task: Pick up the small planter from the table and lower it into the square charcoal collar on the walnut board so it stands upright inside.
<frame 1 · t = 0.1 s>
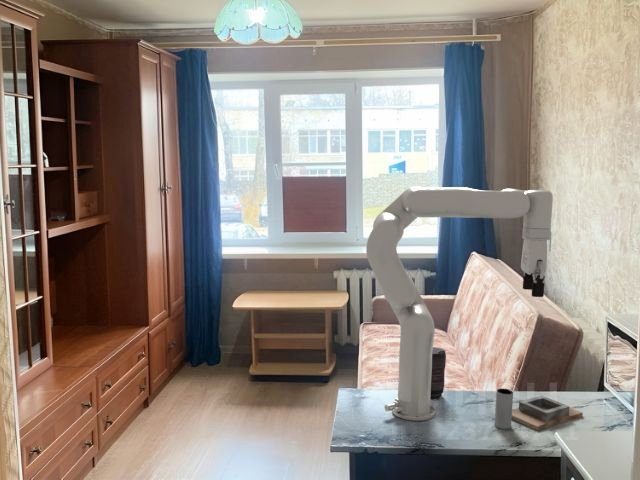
hand: (532, 292, 195), 37 cm above the table, tool pointing down, fingers open, 9 cm apart
camera lens: (431, 396, 215), on the table
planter: (502, 426, 193), on the table
socket board: (543, 416, 201), on the table
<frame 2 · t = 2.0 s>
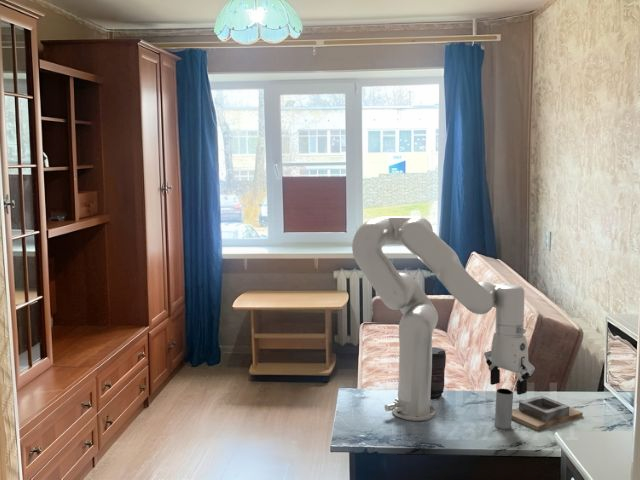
hand: (508, 388, 191), 11 cm above the table, tool pointing down, fingers open, 9 cm apart
nothing on the table moved.
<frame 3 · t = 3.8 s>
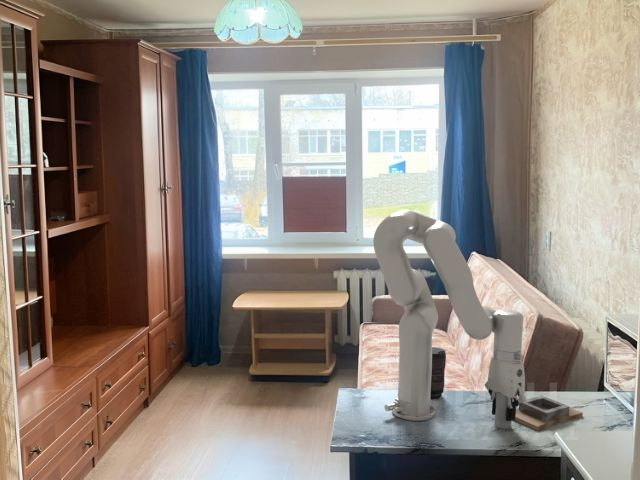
hand: (503, 416, 192), 3 cm above the table, tool pointing down, fingers closed on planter, 4 cm apart
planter: (502, 426, 193), on the table, touching gripper
everything else where it was.
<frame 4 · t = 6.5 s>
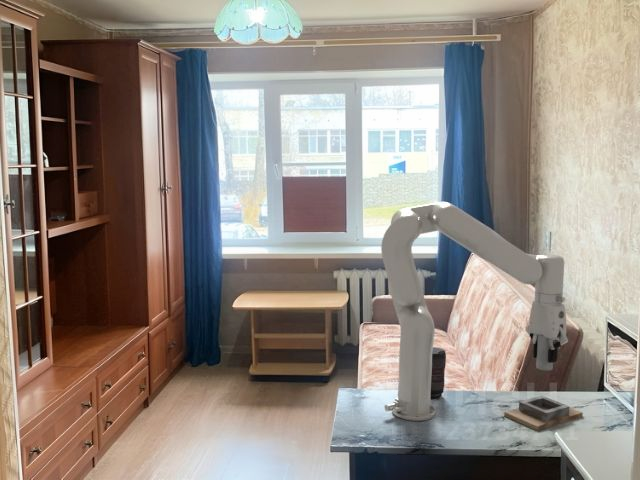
hand: (544, 358, 197), 18 cm above the table, tool pointing down, fingers closed on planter, 4 cm apart
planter: (544, 368, 198), point 15 cm above the table, touching gripper
everything else where it was.
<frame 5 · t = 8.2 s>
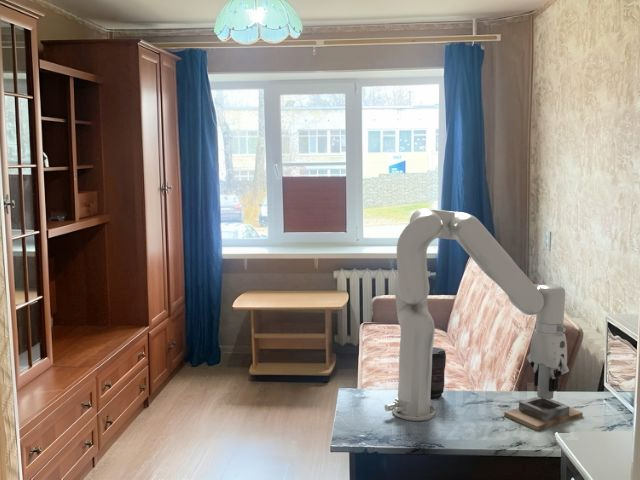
hand: (545, 387, 199), 9 cm above the table, tool pointing down, fingers closed on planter, 4 cm apart
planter: (545, 397, 200), point 6 cm above the table, touching gripper
everything else where it was.
when the fingers open (5 cm above the table, at t = 9.6 s): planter drops 1 cm, resting on socket board.
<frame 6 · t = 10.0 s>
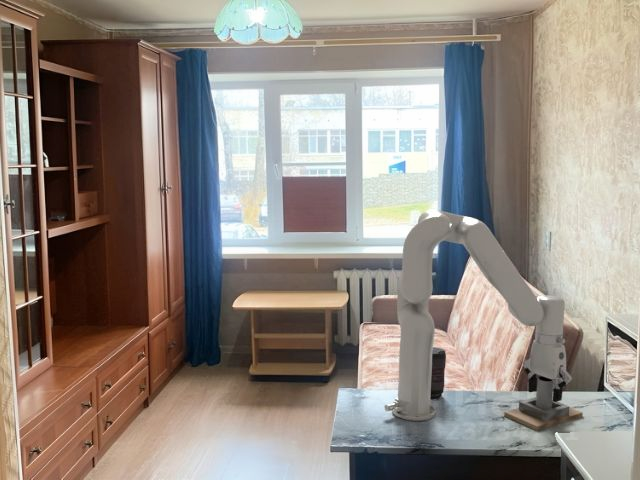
hand: (544, 395, 200), 6 cm above the table, tool pointing down, fingers open, 8 cm apart
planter: (543, 412, 200), point 1 cm above the table, touching socket board
everything else where it was.
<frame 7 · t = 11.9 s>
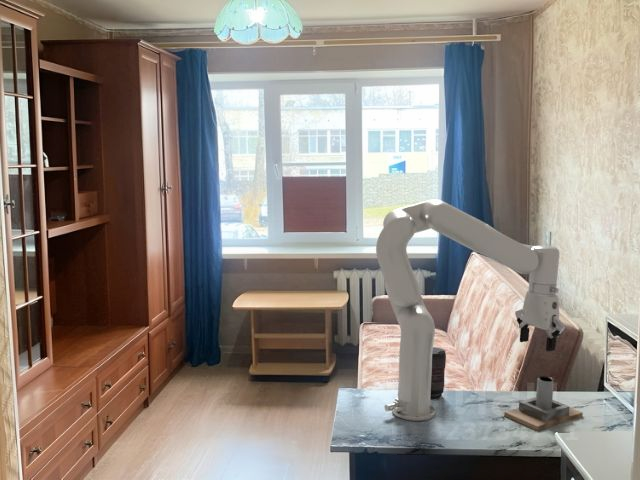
hand: (536, 345, 198), 21 cm above the table, tool pointing down, fingers open, 9 cm apart
nothing on the table moved.
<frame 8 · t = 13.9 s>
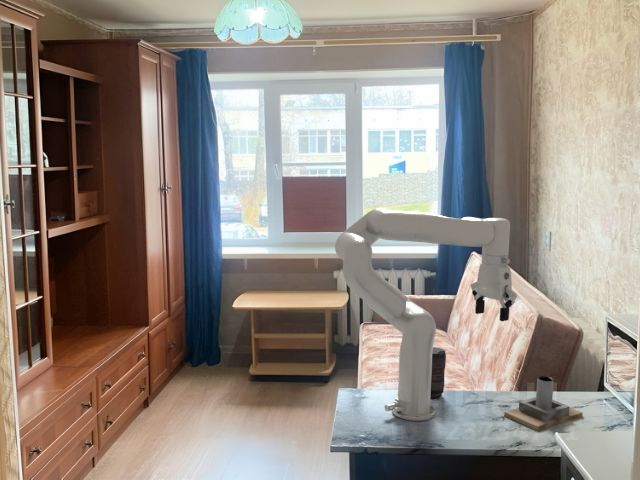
hand: (491, 316, 202), 28 cm above the table, tool pointing down, fingers open, 9 cm apart
nothing on the table moved.
at the end: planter 0.2 cm off-centre on the socket board, point 1.0 cm above the socket board's base; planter tilted 0°; the gripper is holding nothing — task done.
